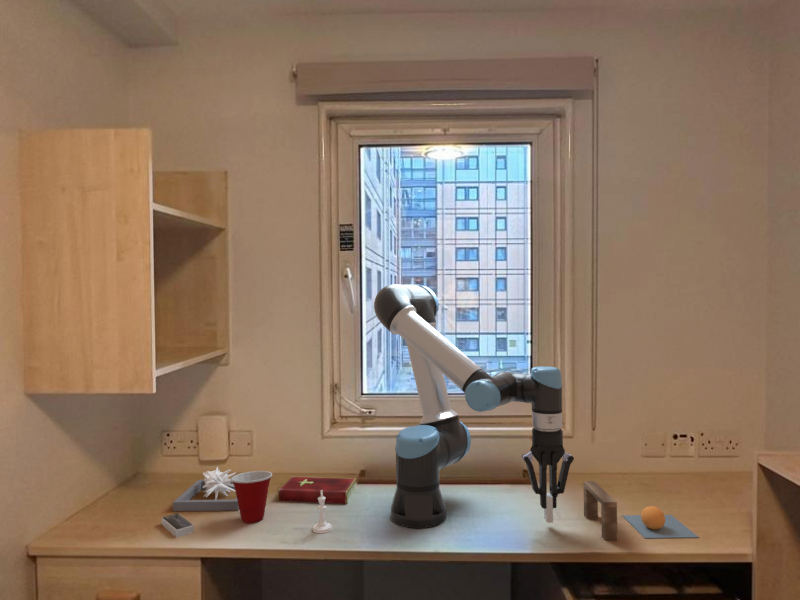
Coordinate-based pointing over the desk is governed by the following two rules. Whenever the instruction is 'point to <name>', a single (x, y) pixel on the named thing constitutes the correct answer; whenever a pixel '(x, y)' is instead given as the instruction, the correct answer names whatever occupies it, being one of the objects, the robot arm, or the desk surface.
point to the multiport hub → (177, 525)
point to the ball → (653, 517)
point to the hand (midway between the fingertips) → (548, 520)
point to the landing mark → (669, 529)
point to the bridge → (608, 508)
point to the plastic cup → (252, 494)
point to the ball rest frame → (202, 501)
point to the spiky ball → (217, 482)
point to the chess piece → (322, 517)
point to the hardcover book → (317, 489)
